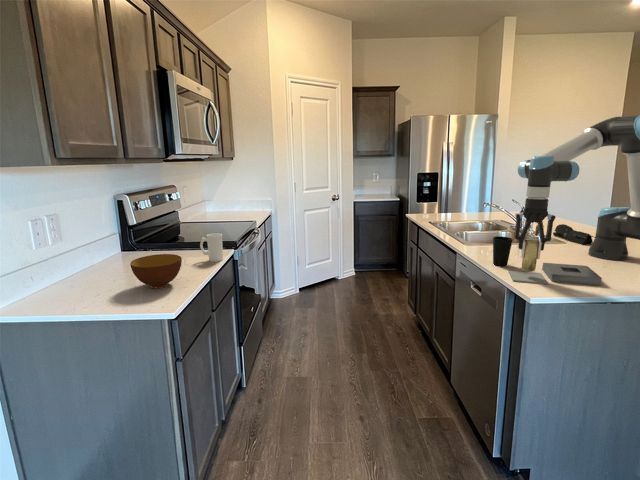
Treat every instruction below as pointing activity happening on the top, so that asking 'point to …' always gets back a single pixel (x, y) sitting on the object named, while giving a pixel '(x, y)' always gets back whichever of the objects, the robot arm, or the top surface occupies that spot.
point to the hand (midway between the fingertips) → (529, 257)
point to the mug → (213, 247)
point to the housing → (571, 274)
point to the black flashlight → (572, 235)
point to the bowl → (156, 269)
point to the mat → (528, 277)
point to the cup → (501, 250)
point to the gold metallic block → (530, 255)
